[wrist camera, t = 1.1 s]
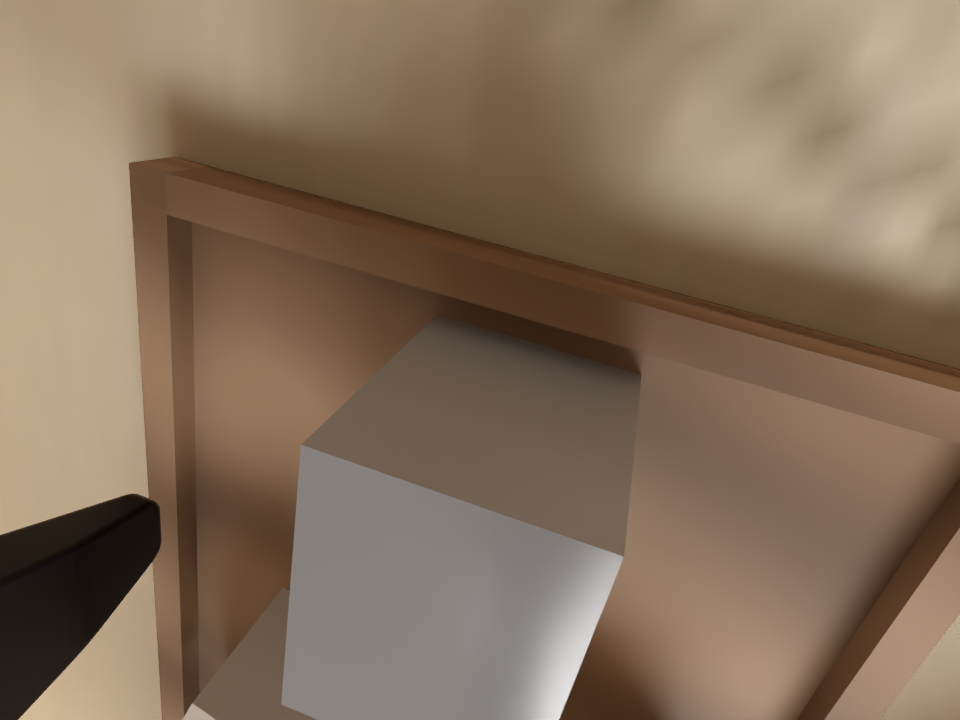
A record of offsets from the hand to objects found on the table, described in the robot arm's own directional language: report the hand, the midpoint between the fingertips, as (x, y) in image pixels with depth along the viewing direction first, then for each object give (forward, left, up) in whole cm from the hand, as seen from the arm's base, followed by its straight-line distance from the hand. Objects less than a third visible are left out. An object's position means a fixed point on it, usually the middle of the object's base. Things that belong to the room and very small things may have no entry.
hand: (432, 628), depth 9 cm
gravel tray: (-5, 0, -5) cm, 7 cm away
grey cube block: (0, 0, -5) cm, 5 cm away
